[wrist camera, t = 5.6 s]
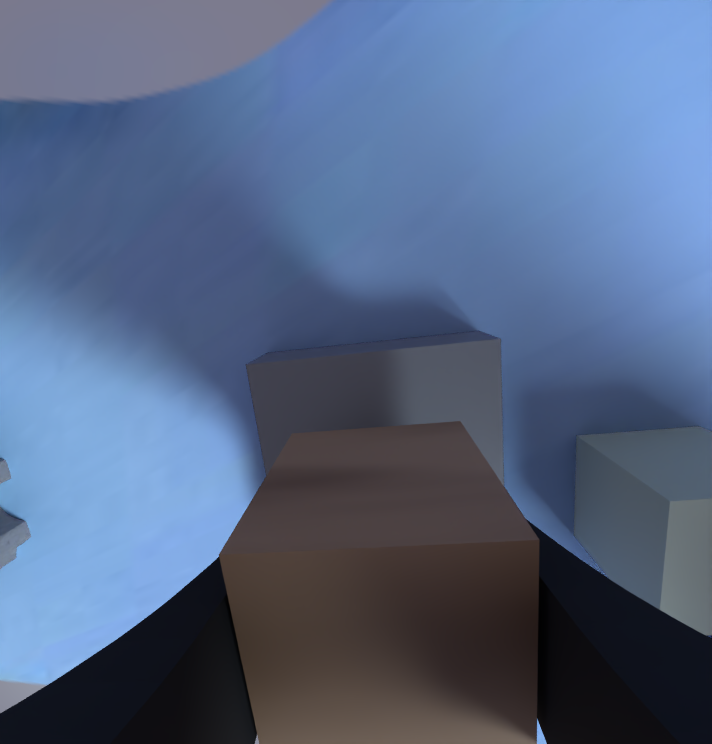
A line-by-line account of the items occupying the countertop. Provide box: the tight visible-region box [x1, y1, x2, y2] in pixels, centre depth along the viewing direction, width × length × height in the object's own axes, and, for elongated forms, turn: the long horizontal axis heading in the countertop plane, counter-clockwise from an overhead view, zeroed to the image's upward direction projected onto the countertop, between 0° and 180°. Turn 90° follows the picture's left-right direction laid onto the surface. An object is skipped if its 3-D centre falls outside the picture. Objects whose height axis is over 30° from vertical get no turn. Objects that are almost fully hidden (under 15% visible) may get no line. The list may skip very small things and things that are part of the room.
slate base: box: [246, 331, 504, 486], centre depth 15 cm, size 9×9×3 cm
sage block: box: [574, 426, 712, 635], centre depth 13 cm, size 5×5×5 cm
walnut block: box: [219, 421, 539, 744], centre depth 8 cm, size 5×5×5 cm
